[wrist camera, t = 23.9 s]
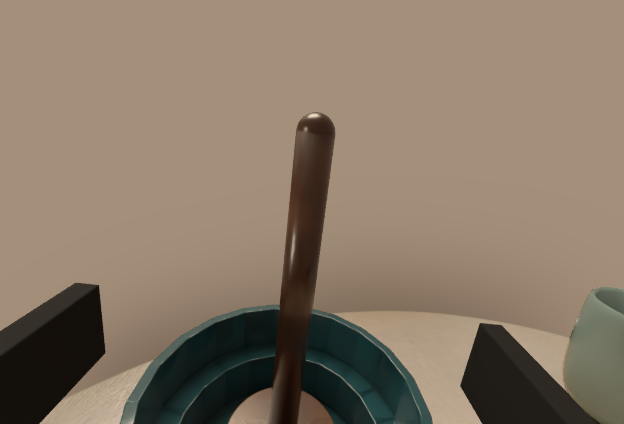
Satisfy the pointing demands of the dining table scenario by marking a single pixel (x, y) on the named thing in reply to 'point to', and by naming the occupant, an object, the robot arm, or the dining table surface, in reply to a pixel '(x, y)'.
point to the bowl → (259, 373)
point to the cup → (598, 356)
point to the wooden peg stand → (297, 283)
